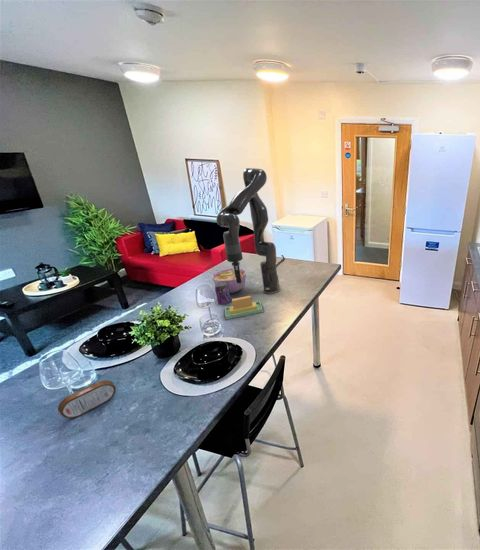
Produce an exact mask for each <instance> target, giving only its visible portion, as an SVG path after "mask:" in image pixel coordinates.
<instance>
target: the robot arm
mask: <svg viewBox="0 0 480 550" xmlns="http://www.w3.org/2000/svg"><path fill="white" fill-rule="evenodd" d="M242 179H243V183H244V188H243V189H241V190H240V191H239V192H237V193H236V194H235V195H234V196H233V198H232V199H231V201H230V202H229V204H228V205H226V206H225V207H224V208H222V209H221V210H220V211H219V212H218V213H217V216H216V224H217V225H218V226H219V227H221V228H228V231H224V232H223V235H222V237H223V242H224V251H225V257H226V261H227V262H229V263H231V268H233V271H234V273H235V277H236V280H237V283H241V277H240V276H241V275H240V272H241V270H240V269H241V263H240V262H241V261H242V260H243V253H242V247H241V241H240V236H239V232H240V224H241V222H240V218H239V217H238V216H239V215H242V213H243V212H244V210H245V209H246V207H247V205H248V204H249V211H250V218H251V223H252V228H253V238H254V239H253V241H254V250H255V253H256V255H258V256H259V257H265V259H264V260H262V261H261V262H260V271H261V272H260V273H261V279H262V287H263V292H264V293H265V294H268V295H270V294H271V295H272V294H277V293H278V292H279V291H280V282H279V275H278V270H277V267H278V266H279V265H280V264H281V263H282V262H283V261H284V260H285V256H284V255H283V254H282V255H280V256H281V257H282V259H281V260H280V261H279V262H278V263H277V248H276V245H275V243H274V242H272V241H265V237H264V235H265V230H266V228H267V226H268V223H269V214H268V213H269V212H268V208H267V206H266V205H265V203H264V202H263V200H262V199H261V197H260V195H259V194H258V192H259V191H260V190H261V189H262V188H263V187H264V186H265V185H266V183H267V179H268V176H267V173H266V171H265V170H264V169H262V168H255V167H254V168H252V167H247V168H245V169H244V170H243V174H242Z"/></svg>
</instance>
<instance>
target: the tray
mask: <svg viewBox="0 0 480 550" xmlns="http://www.w3.org/2000/svg"><path fill="white" fill-rule="evenodd" d="M254 302H256V306H257V310H252V311H247V312H242V313H237V314H232V315H230V308H229V307H233V305H231V306H225V307H224V314H225V315H224V317H225V320H230V319H236V318H240V317H245V316H250V315H251V316H252V315H255V314H260V313H263V312H264V310H263V306H262V303H261V300H257V301H256V300H255V301H252V303H254Z"/></svg>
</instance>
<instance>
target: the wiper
mask: <svg viewBox="0 0 480 550" xmlns="http://www.w3.org/2000/svg"><path fill="white" fill-rule="evenodd" d="M252 302H254V303H252ZM231 303H232V306H233V307H230V306H228V307H229V308H230V315H232V314H237V313H242V312H247V311H252V310H257V306H256V301H253V300H252V295H247V296H241V297H236V298H231Z"/></svg>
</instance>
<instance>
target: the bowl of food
mask: <svg viewBox="0 0 480 550" xmlns="http://www.w3.org/2000/svg"><path fill="white" fill-rule="evenodd" d="M240 270H241V272H240V275H241V276H240V277H241V283H237V280H236V277H235V273H234V271H233V268H232V267H229V268H224V269H221V270H218V271H216V272H214V273H213V274H212V275H211V279H212V282H213V283H214V285H215V284H216V283H219V282H226V283H227V285H228V289H229V294H234V293H237V292H239V291H240V290H242V289H243V288H244V287H245V284H246V277H247V271H246V270H245V269H243V268H240Z"/></svg>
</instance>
